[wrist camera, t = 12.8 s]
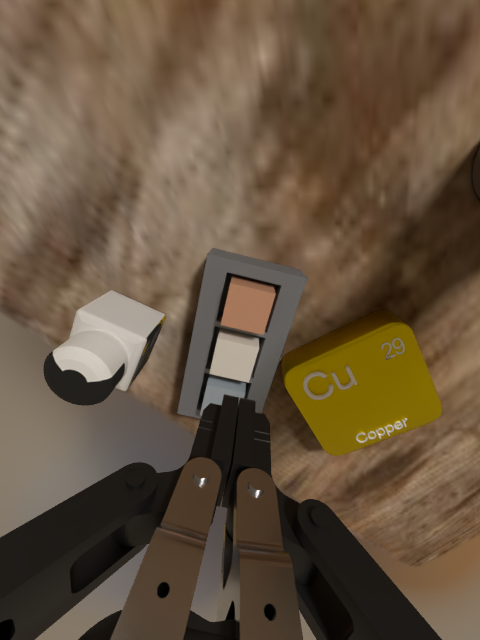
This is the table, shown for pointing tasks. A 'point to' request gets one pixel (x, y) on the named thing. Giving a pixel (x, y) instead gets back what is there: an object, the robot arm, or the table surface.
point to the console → (209, 323)
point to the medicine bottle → (103, 349)
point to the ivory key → (234, 355)
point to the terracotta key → (248, 304)
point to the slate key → (222, 390)
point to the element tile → (362, 383)
